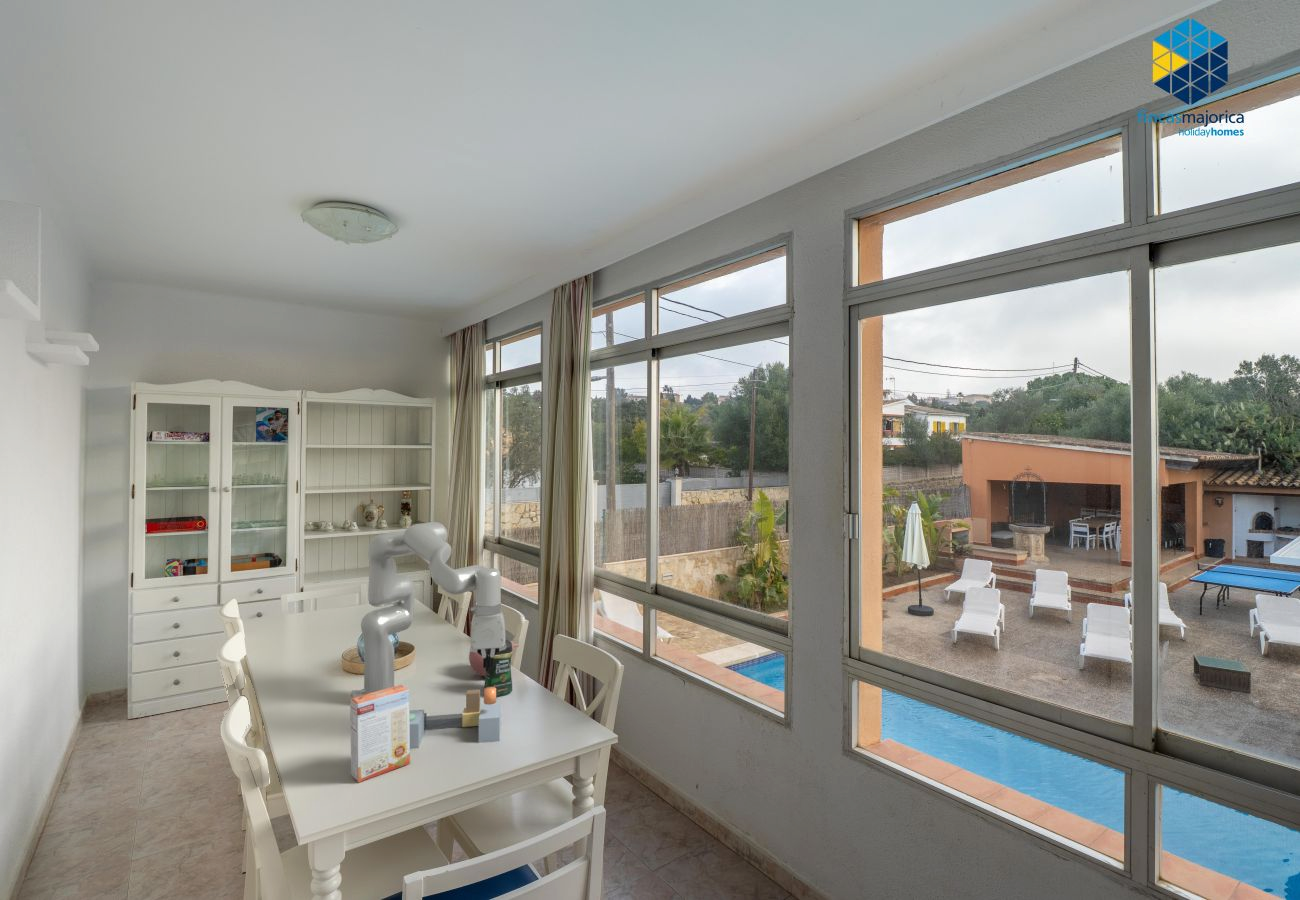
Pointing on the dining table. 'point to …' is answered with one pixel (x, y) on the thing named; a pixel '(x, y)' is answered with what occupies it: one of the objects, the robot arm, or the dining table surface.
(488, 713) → the cabinet far
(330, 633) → the dining table surface
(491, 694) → the orange rounded cube
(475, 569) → the robot arm
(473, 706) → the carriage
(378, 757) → the cracker box
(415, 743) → the cabinet near
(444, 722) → the rail
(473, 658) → the pink rounded piece
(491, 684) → the coffee jar
